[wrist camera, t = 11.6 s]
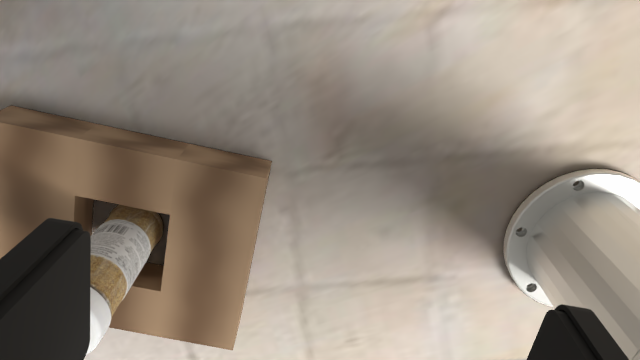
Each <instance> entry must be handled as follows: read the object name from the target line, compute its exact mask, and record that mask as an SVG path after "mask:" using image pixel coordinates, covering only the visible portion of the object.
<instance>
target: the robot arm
mask: <svg viewBox="0 0 640 360" xmlns="http://www.w3.org/2000/svg"><path fill="white" fill-rule="evenodd" d="M518 228H519V229H518ZM503 254H504V259H505V264H506V267H507V269H508V271H509V273H510V275H511V277H512V279H513V280H514V282H515V283H516V285H517V286H518V287H519V289H520V290H521V291H522V292H523V293H524V294H525V295H527V296H528V297H530V298H531V299H533V300H535V301H536V302H538V303H541V304H544V305H546V306H549V307H554V308H555V310H549V311H548V312H547V313H546V315H545V317H544V320H543V322H542V324H541V327H540V329H539V332H538V334H537V336H536V339H535V341H534V343H533V346H532V348H531V351H530V353H529V355H528V358H527V360H640V182H639V181H638V180H637V179H635V178H633V177H631V176H628V175H626V174H624V173H622V172H617V171H613V170H608V169H588V170H580V171H575V172H572V173H568V174H565V175H562V176H559V177H557V178H555V179H553V180H551V181H549V182H547V183H545V184H544V185H543V186H541V187H540V188H538V189H537V190H535V191H534V192H533V193H532V194H531V195H530V196H529V197H528V198H527V199H526V200H524V201H523V202H522V203H521V205H520V206H519V208H518V209H517V210H516V212H515V213H514V215H513V216H512V218H511V221H510V223H509V225H508V227H507V230H506V234H505V238H504V251H503ZM90 273H91V237H90V233H89V232H88V231H83V228H82V225H81V224H80V223H79V222H73V221H67V220H61V219H55V218H48V219H46V220H45V221H44V222H43V223H41V224H40V225H39V226H38V227H37V228H36V229H34V230H33V231H32V232H31V233H30V234H29V235H27V236H26V237H25V238H24V239H23V240H22V241H20V242H19V243H18V244H17V245H16V246H15V247H14V248H12V249H11V250H10V251H9V252H8V253H7V254H5V255H4V256H3V257H2V258H1V259H0V360H83V359H84V358H85V356H86V353H87V351H88V348H89V343H90Z"/></svg>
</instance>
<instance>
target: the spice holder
mask: <svg viewBox="0 0 640 360" xmlns="http://www.w3.org/2000/svg"><path fill="white" fill-rule="evenodd" d="M271 163H272V161H269V160H264V159H259V158H255V157H250V156H245V155H241V154H236V153H231V152H226V151H222V150H217V149H212V148H208V147H203V146H198V145H194V144H189V143H184V142H180V141H175V140H170V139H166V138H161V137H156V136H152V135H147V134H142V133H138V132H133V131H128V130H123V129H119V128H114V127H109V126H105V125H100V124H95V123H91V122H86V121H81V120H77V119H72V118H67V117H63V116H58V115H53V114H49V113H44V112H39V111H34V110H30V109H25V108H20V107H16V106H9V107H6V108H4V109H2V110H0V259H1V258H2V257H3V256H4V255H5V254H7V253H8V252H9V251H10V250H11V249H12V248H14V247H15V246H16V245H17V244H18V243H19V242H20V241H22V240H23V239H24V238H25V237H26V236H27V235H29V234H30V233H31V232H32V231H33V230H34V229H36V228H37V227H38V226H39V225H40V224H41V223H43V222H44V221H45V220H46V219H48V218H55V219H61V220H67V221H73V222H79V223H80V224H81V225H82V228H83V231H88V232H89V233H90V236H91V235H92V218H93V200H99V201H104V202H109V203H114V204H119V205H124V206H129V207H134V208H139V209H144V210H149V211H154V212H158V213H163V214H168V215H170V219H169V227H168V235H167V244H166V252H165V260H164V266H162V265H157V264H152V263H147V262H146V263H145V264H144V266H143V268H142V270H141V271H140V273H139V275H138V276H137V278H136V279H135V281H134V283H133V284H132V286H131V288H130V289H129V291H128V293H127V294H126V296H125V298H124V299H123V300H122V301H121V303H120V304H119V306H118V307H117V309H116V311H115V312H114V314H113V316H112V319H111V322H110V325H109V327H110V328H115V329H121V330H126V331H132V332H137V333H142V334H148V335H153V336H158V337H164V338H169V339H175V340H180V341H185V342H191V343H196V344H201V345H207V346H212V347H218V348H223V349H228V350H233V347H234V343H235V339H236V335H237V331H238V327H239V323H240V318H241V313H242V308H243V303H244V298H245V293H246V288H247V283H248V278H249V273H250V268H251V263H252V258H253V253H254V248H255V243H256V238H257V233H258V228H259V223H260V218H261V213H262V208H263V203H264V198H265V193H266V188H267V183H268V178H269V173H270V168H271Z"/></svg>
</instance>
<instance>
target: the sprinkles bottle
mask: <svg viewBox="0 0 640 360" xmlns="http://www.w3.org/2000/svg"><path fill="white" fill-rule="evenodd" d="M162 235H163V223H162V220H161V218H160V216H159V215H158V213H157V212H154V211H149V210H144V209H139V208H134V207H129V206H124V205H118V206H117V207H116V208H114V209H113V210H112V212H111V213H110V215H109V217H108V218H107V220H106V221H105V222H104V223H103V224H102V225H100V226H99V227H98V228H97V230H96V231H95V232H94V233H93V234H92V235H91V236H90V237H91V273H90V343H89V348H88V351H87V353H86V354H88V353H90V352H91V351H93V350H94V349H95V348H96V347H97V345H98V344H99V342H100V341H101V339H102V338H103V336H104V334H105V333H106V331H107V329H108V328H109V325H110V322H111V319H112V316H113V314H114V312H115V311H116V309H117V307H118V306H119V304H120V303H121V301H122V300H123V299H124V298H125V296H126V294H127V293H128V291H129V289H130V288H131V286H132V284H133V283H134V281H135V279H136V278H137V276H138V275H139V273H140V271H141V270H142V268H143V266H144V264H145V263H146V261H147V259H148V258H149V255H150V253H151V251H152V250H153V248H154V246H155V245H156V244H157V243H158V242H159V240H160V239H161V237H162Z"/></svg>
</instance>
